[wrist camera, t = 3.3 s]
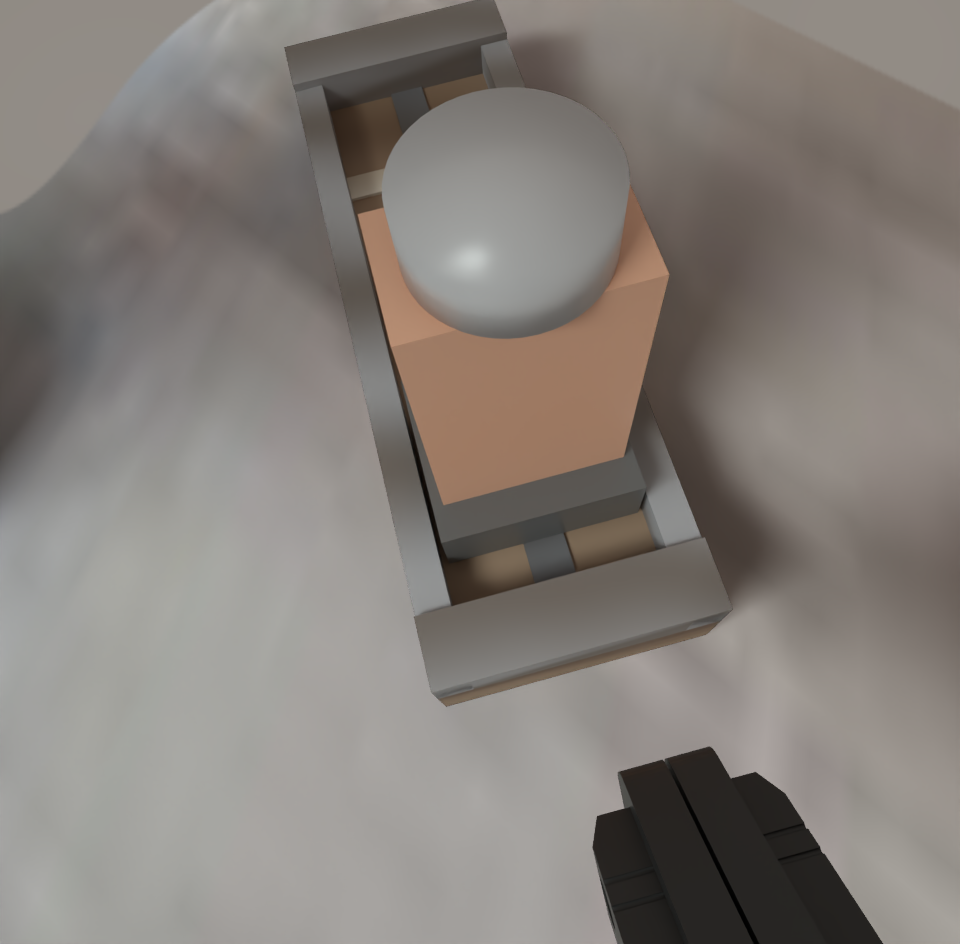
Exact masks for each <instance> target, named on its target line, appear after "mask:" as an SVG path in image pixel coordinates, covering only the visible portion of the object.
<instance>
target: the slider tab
mask: <svg viewBox="0 0 960 944" xmlns="http://www.w3.org/2000/svg"><path fill="white" fill-rule="evenodd" d="M382 200H383V205H384V208H380V209H376V210H372V211H368V212H364V213H360V214H358V218H359V222H360V226H361V230H362V234H363V238H364V242H365V246H366V250H367V254H368V258H369V262H370V266H371V270H372V274H373V278H374V282H375V286H376V290H377V294H378V298H379V302H380V306H381V310H382V314H383V318H384V322H385V326H386V330H387V334H388V338H389V342H390V346H391V349H392V352H393V355H394V358H395V361H396V364H397V367H398V370H399V373H400V376H401V379H402V381H401V384H402V388H403V392H404V396H405V400H406V404H407V408H408V412H409V416H410V420H411V424H412V428H413V432H414V436H415V440H416V444H417V448H418V452H419V456H420V460H421V464H422V468H423V472H424V476H425V480H426V484H427V488H428V492H429V496H430V500H431V504H432V508H433V512H434V516H435V520H436V524H437V528H438V532H439V536H440V540H441V544H442V546H443V549H444V551H445V554H446V556H447V559H448V561H449V564H450V563H454V562H458V561H461V560H465V559H469V558H472V557H476V556H480V555H483V554H487V553H491V552H494V551H498V550H502V549H506V548H509V547H513V546H517V545H520V544H524V543H528V542H531V541H535V540H539V539H542V538H546V537H550V536H553V535H557V534H561V533H565V532H568V531H572V530H576V529H579V528H583V527H587V526H590V525H594V524H598V523H601V522H605V521H609V520H612V519H616V518H620V517H624V516H627V515H631V514H635V513H638V511H639V508H640V505H641V502H642V500H643V497H644V494H645V491H646V488H647V487H646V484H645V481H644V479H643V476H642V473H641V471H640V468H639V465H638V463H637V460H636V457H635V455H634V452H633V449H632V446H631V444H630V441H629V434H630V430H631V426H632V422H633V418H634V414H635V410H636V406H637V402H638V398H639V394H640V390H641V386H642V382H643V378H644V374H645V370H646V366H647V362H648V358H649V354H650V350H651V346H652V342H653V338H654V334H655V330H656V326H657V322H658V318H659V314H660V310H661V306H662V302H663V298H664V294H665V291H666V287H667V283H668V279H669V272H668V270H667V268H666V265H665V263H664V261H663V258H662V256H661V254H660V251H659V249H658V247H657V245H656V242H655V240H654V238H653V235H652V233H651V231H650V228H649V226H648V224H647V222H646V219H645V217H644V215H643V212H642V210H641V208H640V205H639V203H638V201H637V199H636V196H635V194H634V192H633V189H632V187H631V185H630V172H629V166H628V161H627V158H626V155H625V152H624V149H623V147H622V145H621V143H620V141H619V140H618V138H617V136H616V135H615V134H614V132H613V131H612V130H611V128H610V127H609V126H608V125H607V124H606V123H605V122H604V121H603V120H602V119H601V118H600V117H599V116H597V115H596V114H595V113H594V112H592V111H591V110H590V109H588V108H586V107H585V106H583V105H581V104H579V103H578V102H576V101H574V100H571V99H569V98H567V97H564V96H561V95H558V94H555V93H552V92H548V91H543V90H538V89H531V88H521V87H503V88H493V89H486V90H481V91H476V92H472V93H469V94H465V95H462V96H459V97H456V98H454V99H452V100H449V101H447V102H445V103H443V104H441V105H439V106H437V107H436V108H434V109H432V110H431V111H429V112H428V113H426V114H425V115H423V116H422V117H420V118H419V119H418V120H417V121H416V122H415V123H414V124H413V125H411V126H410V127H409V128H408V130H407V131H406V132H405V133H404V134H403V135H402V136H401V138H400V139H399V140H398V142H397V143H396V145H395V146H394V148H393V150H392V152H391V154H390V156H389V158H388V160H387V163H386V166H385V170H384V174H383V180H382Z"/></svg>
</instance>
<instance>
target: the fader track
mask: <svg viewBox="0 0 960 944" xmlns="http://www.w3.org/2000/svg"><path fill="white" fill-rule="evenodd" d="M284 48H285V52H286V57H287V61H288V66H289V70H290V74H291V79H292V83H293V87H294V90H295V93H296V97H297V101H298V106H299V110H300V115H301V119H302V123H303V128H304V132H305V137H306V141H307V145H308V150H309V154H310V158H311V163H312V167H313V172H314V176H315V180H316V185H317V189H318V193H319V198H320V202H321V207H322V211H323V215H324V220H325V224H326V229H327V233H328V237H329V242H330V246H331V250H332V255H333V259H334V264H335V268H336V272H337V277H338V281H339V286H340V290H341V294H342V299H343V303H344V307H345V312H346V316H347V321H348V325H349V329H350V334H351V338H352V343H353V347H354V351H355V356H356V360H357V364H358V369H359V373H360V378H361V382H362V386H363V391H364V395H365V400H366V404H367V408H368V413H369V417H370V421H371V426H372V430H373V435H374V439H375V443H376V448H377V452H378V457H379V461H380V465H381V470H382V474H383V478H384V483H385V487H386V492H387V496H388V500H389V505H390V509H391V514H392V518H393V522H394V527H395V531H396V535H397V540H398V544H399V549H400V553H401V557H402V562H403V566H404V571H405V575H406V579H407V584H408V588H409V592H410V597H411V601H412V606H413V610H414V614H415V616H414V619H415V624H416V628H417V633H418V637H419V641H420V646H421V650H422V655H423V659H424V663H425V668H426V672H427V677H428V681H429V685H430V690H431V693H432V694H433V695H434V696H435V697H437V698H438V699H439V700H440V701H441V702H442V703H443V704H444V705H445V706H446V707H447V706H450V705H454V704H457V703H461V702H465V701H468V700H472V699H475V698H479V697H483V696H486V695H490V694H494V693H497V692H501V691H504V690H508V689H512V688H515V687H519V686H522V685H526V684H530V683H533V682H537V681H540V680H544V679H548V678H551V677H555V676H558V675H562V674H566V673H569V672H573V671H576V670H580V669H584V668H587V667H591V666H594V665H598V664H602V663H605V662H609V661H613V660H616V659H620V658H623V657H627V656H631V655H634V654H638V653H641V652H645V651H649V650H652V649H656V648H659V647H663V646H667V645H670V644H674V643H677V642H681V641H685V640H688V639H692V638H695V637H699V636H703V635H706V634H707V633H708V632H709V631H710V630H711V629H713V628H714V627H715V626H716V625H717V624H718V623H719V622H720V621H721V620H722V619H723V618H724V617H725V616H726V615H727V614H728V613H729V612H730V611H731V610H733V608H732V605H731V602H730V600H729V597H728V595H727V592H726V590H725V587H724V585H723V582H722V579H721V577H720V574H719V572H718V569H717V567H716V564H715V562H714V559H713V557H712V554H711V551H710V549H709V546H708V544H707V541H706V539H705V537H704V538H702V537H701V535H700V532H699V530H698V527H697V525H696V522H695V520H694V517H693V514H692V512H691V509H690V507H689V504H688V502H687V499H686V496H685V494H684V491H683V489H682V486H681V484H680V481H679V479H678V476H677V473H676V471H675V468H674V466H673V463H672V461H671V458H670V455H669V453H668V450H667V448H666V445H665V443H664V440H663V438H662V435H661V432H660V430H659V427H658V425H657V422H656V420H655V417H654V415H653V412H652V409H651V407H650V404H649V402H648V399H647V397H646V394H645V391H644V389H643V386H641V390H640V394H639V398H638V402H637V406H636V410H635V414H634V418H633V422H632V426H631V430H630V434H629V441H630V444H631V446H632V449H633V452H634V455H635V457H636V460H637V463H638V465H639V468H640V471H641V473H642V476H643V479H644V481H645V484H646V487H647V488H646V491H645V494H644V497H643V500H642V502H641V505H640V508H639V511H638V513H635V514H631V515H627V516H624V517H620V518H616V519H612V520H609V521H605V522H601V523H598V524H594V525H590V526H587V527H583V528H579V529H576V530H572V531H568V532H565V533H561V534H557V535H553V536H550V537H546V538H542V539H539V540H535V541H531V542H528V543H524V544H520V545H517V546H513V547H509V548H506V549H502V550H498V551H494V552H491V553H487V554H483V555H480V556H476V557H472V558H469V559H465V560H461V561H458V562H454V563H450V564H449V561H448V559H447V556H446V554H445V551H444V549H443V546H442V544H441V540H440V536H439V532H438V528H437V524H436V520H435V516H434V512H433V508H432V504H431V500H430V496H429V492H428V488H427V484H426V480H425V476H424V472H423V468H422V464H421V460H420V456H419V452H418V448H417V444H416V440H415V436H414V432H413V428H412V424H411V420H410V416H409V412H408V408H407V404H406V400H405V396H404V392H403V388H402V384H401V381H402V379H401V376H400V373H399V370H398V367H397V364H396V361H395V358H394V355H393V352H392V349H391V346H390V342H389V338H388V334H387V330H386V326H385V322H384V318H383V314H382V310H381V306H380V302H379V298H378V294H377V290H376V286H375V282H374V278H373V274H372V270H371V266H370V262H369V258H368V254H367V250H366V246H365V242H364V238H363V234H362V230H361V226H360V222H359V218H358V214H360V213H364V212H368V211H372V210H376V209H380V208H384V205H383V200H382V180H383V174H384V170H385V166H386V163H387V160H388V158H389V156H390V154H391V152H392V150H393V148H394V146H395V145H396V143H397V142H398V140H399V139H400V138H401V136H402V135H403V134H404V133H405V132H406V131H407V130H408V128H409V127H410V126H411V125H413V124H414V123H415V122H416V121H417V120H418V119H419V118H420V117H422V116H423V115H425V114H426V113H428V112H429V111H431V110H432V109H434V108H436V107H437V106H439V105H441V104H443V103H445V102H447V101H449V100H452V99H454V98H456V97H459V96H462V95H465V94H469V93H472V92H476V91H481V90H486V89H493V88H503V87H521V88H526V87H525V84H524V82H523V79H522V77H521V74H520V71H519V69H518V66H517V64H516V61H515V59H514V56H513V54H512V51H511V48H510V46H509V43H508V41H507V32H506V29H505V27H504V24H503V21H502V19H501V16H500V14H499V11H498V9H497V6H496V4H495V1H494V0H474V1H470V2H466V3H462V4H458V5H454V6H450V7H446V8H442V9H438V10H434V11H430V12H426V13H422V14H418V15H413V16H409V17H405V18H401V19H397V20H393V21H389V22H385V23H381V24H377V25H373V26H369V27H365V28H361V29H357V30H353V31H349V32H345V33H341V34H337V35H332V36H328V37H324V38H320V39H316V40H312V41H308V42H304V43H300V44H296V45H292V46H288V47H284Z"/></svg>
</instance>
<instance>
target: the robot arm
mask: <svg viewBox="0 0 960 944" xmlns="http://www.w3.org/2000/svg"><path fill="white" fill-rule="evenodd" d="M618 779H619V784H620V789H621V794H622V798H623V803H624V808H625V809H621V810H618V811H614V812H610V813H607V814H603V815H600V816H597V820H596V827H595V834H594V841H593V851H594V855H595V860H596V864H597V868H598V872H599V877H600V881H601V885H602V889H603V894H604V898H605V902H606V906H607V911H608V915H609V918H610V921H611V925H612V928H613V931H614V934H615V938H616V941H617V944H883V943H882V941H881V940H880V938H879V937H878V935H877V934H876V932H875V930H874V929H873V927H872V926H871V924H870V923H869V921H868V920H867V918H866V917H865V915H864V914H863V912H862V911H861V909H860V907H859V906H858V904H857V903H856V901H855V900H854V898H853V897H852V895H851V894H850V892H849V891H848V889H847V888H846V886H845V885H844V883H843V881H842V880H841V878H840V877H839V875H838V874H837V872H836V871H835V869H834V868H833V866H832V865H831V863H830V862H829V860H828V859H827V857H826V855H825V854H823V853H822V852H821V849H820V846H819V845H818V843H817V842H816V840H815V839H814V837H813V836H812V834H811V832H810V831H809V829H806V827H805V824H804V822H803V820H802V819H801V817H800V816H799V814H798V813H797V811H796V810H795V808H794V806H793V805H792V803H791V802H790V800H789V799H788V797H787V796H786V794H785V793H784V792H782V791H781V790H780V789H778V788H777V787H775V786H774V785H773V784H771V783H770V782H769V781H767V780H766V779H765V778H763V777H762V776H760V775H759V774H758V773H756V772H754V773H750V774H746V775H743V776H739V777H735V778H732V779H731V778H730V777H729V775H728V773H727V771H726V770H725V768H724V766H723V764H722V763H721V761H720V759H719V758H718V756H717V754H716V753H715V751H714V750H713V749H712V748H711V747H706V748H702V749H699V750H695V751H691V752H688V753H684V754H681V755H677V756H673V757H670V758H666V759H665V762H664V761H663V760H660V761H656V762H653V763H649V764H645V765H642V766H638V767H634V768H631V769H627V770H624V771H620V772H618Z"/></svg>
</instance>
